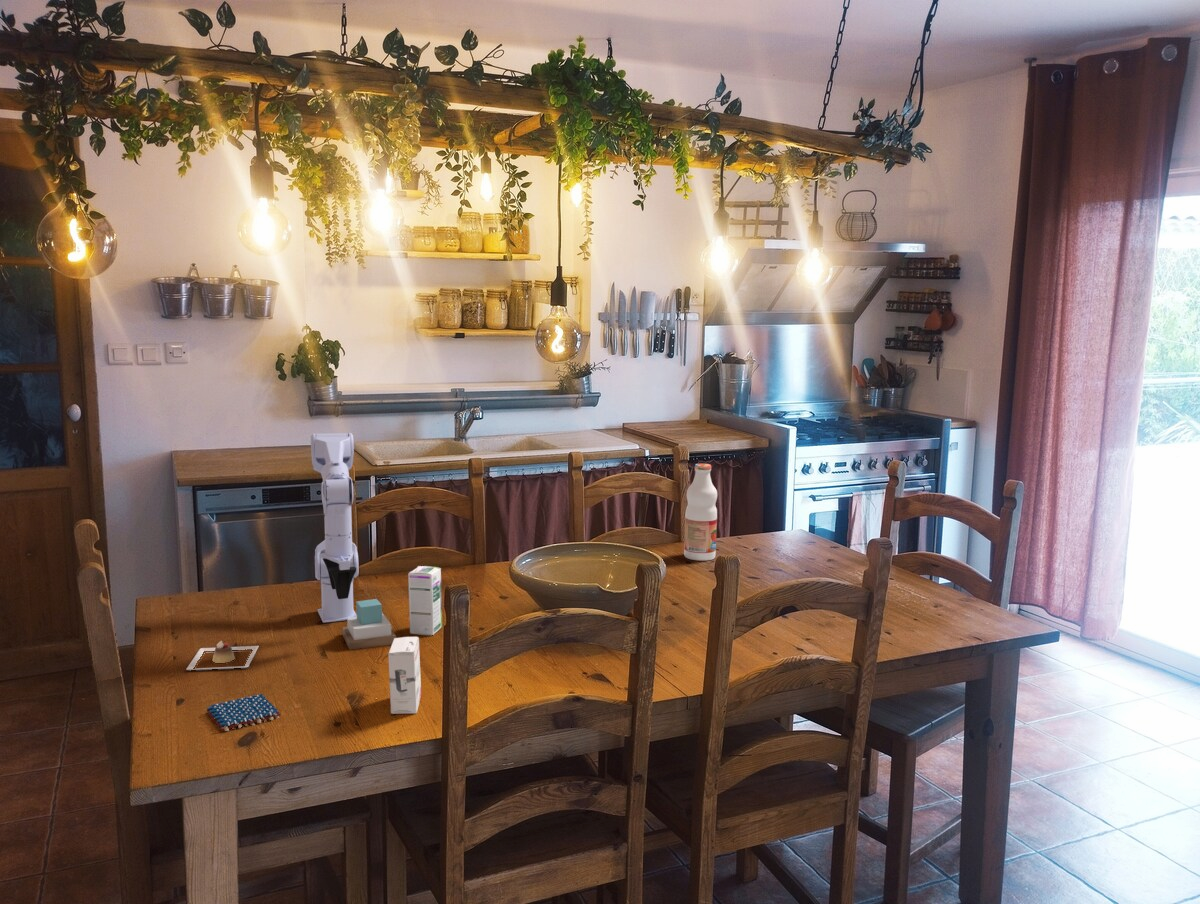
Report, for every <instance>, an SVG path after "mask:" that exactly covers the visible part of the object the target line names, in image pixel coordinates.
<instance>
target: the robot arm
mask: <svg viewBox="0 0 1200 904" xmlns="http://www.w3.org/2000/svg"><path fill="white" fill-rule="evenodd" d="M354 442H355V441H354V434H352V432H343V433H342V432H341V433H340V432H338V433H335V432H333V433H315V432H313V433H312V434H311V435H310V454H311V456H310V457H311V466H313V471H316V472H318V473H320V475H321V478H322V482H321V501H322V502H321V503H322V507H323V516H324V517H323V518H324V540H323V541H321V542H320V543H319V544H317V546H316V547H315V549H314V574H315V579H317V581H320V588H321V589H320V590H321V591H320V592H321V595H320V596H321V608H318V609H317V613H318V615H319V617H320V619H321V621H322V623H332V622H342V621H347V618H350V617H357V612H356V611H355V610H354V582H355V579H354V578H357V577H358V576H359V573H360V572H359V570H360V569H359V565H360V564H359V553H358V547H357V545H356V544H355V542H353V526H352V525H353V522H352V521H353V520H352V519H353V518H352V516H353V515H352V505H353V503H354V483H353V479H352V478H351V477H350V472H349V471H350V470H352V468H353V464H354V456H355V454H354V452H355V451H354V450H355V444H354Z"/></svg>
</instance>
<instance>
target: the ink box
mask: <svg viewBox="0 0 1200 904" xmlns="http://www.w3.org/2000/svg"><path fill="white" fill-rule="evenodd" d="M420 655H421V654H420V638H419V636H402V637H396V638H394V640H393V643H392V645H390V648H389V651H388V654H387V656H388V675H389V677H388V679H389V698H390V714H393V715H394V714H396V715H397V714H398V715H399V714H402V715H403V714H404V715H405V714H408V715H409V714H412V715H413V714H417V713H418V710H419V706H420V705H419V704H420V701H421V696H422V682H421V681H422V680H421V659H420V658H421V657H420Z"/></svg>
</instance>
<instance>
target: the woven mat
mask: <svg viewBox="0 0 1200 904" xmlns="http://www.w3.org/2000/svg"><path fill="white" fill-rule="evenodd" d="M206 712H207V715H208V716H210V717H211V718H212V721H214V722H215V723H216V724H217V726H218V727H219V728H220V731H222V732H225V731H227V732H230V730H232V729H231V728H233V729H234V727H236V728H237V726H238V728H237V729H242V728H241V727H243V726H244V725H245V726H247V725H248V726H249V724H250V726H251V725H254V726H256V724H258V723H259V724H261V723H267V720H269V721H270V720H271V721H270V722H272V721H274V718H275V719H276V720H279V719H280V716H281V715H282V714H281V713H280V711H279V710H278V709H277V708H276V707H275V705H273V704H272V703H271V702H269V700H268V699H266V696H264V695H263V693H260V694H254V695H250V696H245V697H243V698H242V697H241V698H237V699H236V700H235V699H233V700H228V701H225V702H219V703H213V704H212V705H210V706H208V707H207V708H206ZM214 718H215V719H214ZM260 718H261V719H260ZM278 718H279V719H278ZM263 721H264V722H263ZM265 721H266V722H265ZM255 723H256V724H255ZM242 724H244V725H242ZM248 726H247V727H248Z"/></svg>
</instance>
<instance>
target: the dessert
mask: <svg viewBox="0 0 1200 904" xmlns="http://www.w3.org/2000/svg"><path fill="white" fill-rule="evenodd" d="M259 647H260V646H259V645H246V646H241V645H240V646H232V645H229V643H228V642H226V641H224V639H222V640H220V641H219V642H218V643H217V644H216V647H201V648H199V649H198V650H197V652H196V653H195V655H194V657H193V658H192V660H191V662H190V663H189V664H188V666H187V667H186V668H185V670H186V671H189V672H190V671H191V670H196V671H213V670H212V669H218V670H235V669H234V668H241V669H247V668H249V667H250V664H251V662H252V660H253V659H254V657H255V655H256V653H257V650H258V649H259ZM245 649H246V650H247V649H252V650H253V651H252V653H251V652H250V653H251V654H250V653H249V655H250V656H249V655H248V657H249V658H248V657H247V659H248V660H247V659H246V661H247V662H246V661H245V662H246V664H245V663H244V664H245V666H244V665H243V666H240V665H239V666H224V667H221V666H220V667H199V668H197V667H195V665H196V663H197V661H198V660H199V659H200V657H201V656H202V654H203V652H204V651H215V652H213V656H212V660H211V661H213V662H215V663H225V662H230V661H232V660H234V659H235V660H236V656H235V653H234V651H232V650H245ZM235 660H234V661H235ZM213 662H212V663H213ZM232 662H233V661H232ZM215 663H214V664H215ZM230 663H231V662H230ZM194 667H195V669H193V668H194Z"/></svg>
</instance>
